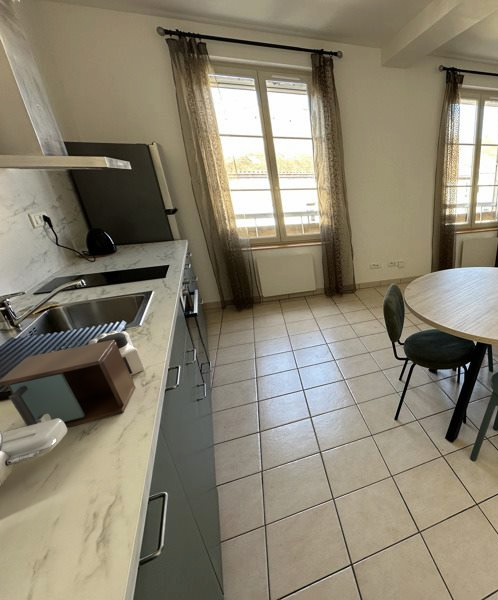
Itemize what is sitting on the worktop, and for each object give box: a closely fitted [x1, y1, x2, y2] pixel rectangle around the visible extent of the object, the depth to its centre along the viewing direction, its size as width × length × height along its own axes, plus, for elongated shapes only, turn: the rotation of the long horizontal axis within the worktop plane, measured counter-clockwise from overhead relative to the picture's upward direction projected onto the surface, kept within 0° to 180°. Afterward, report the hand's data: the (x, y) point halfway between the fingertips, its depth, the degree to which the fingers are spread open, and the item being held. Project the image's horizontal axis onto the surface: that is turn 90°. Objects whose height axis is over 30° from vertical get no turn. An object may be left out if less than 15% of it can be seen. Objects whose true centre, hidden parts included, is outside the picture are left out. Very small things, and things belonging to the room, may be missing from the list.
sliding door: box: [8, 373, 85, 426], centre depth 76 cm, size 9×5×13 cm, turn 114°
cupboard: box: [0, 340, 137, 429], centre depth 84 cm, size 18×12×16 cm, turn 114°
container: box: [97, 333, 145, 377], centre depth 100 cm, size 8×8×13 cm
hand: (17, 424), depth 71 cm, fingers open, 8 cm apart
